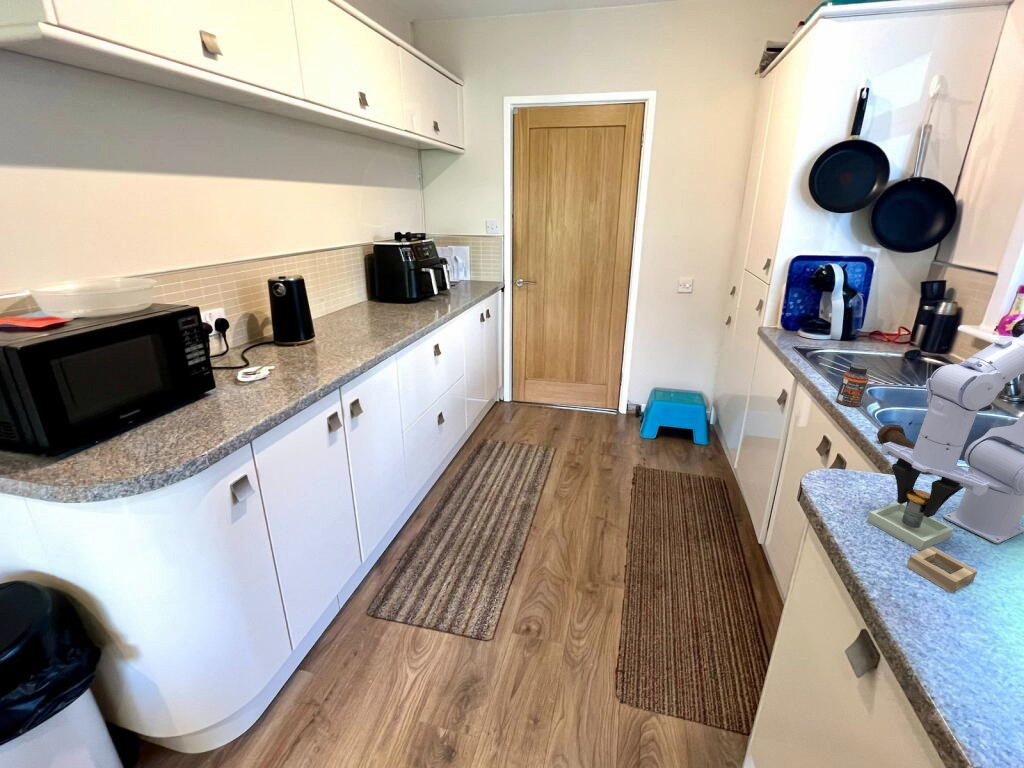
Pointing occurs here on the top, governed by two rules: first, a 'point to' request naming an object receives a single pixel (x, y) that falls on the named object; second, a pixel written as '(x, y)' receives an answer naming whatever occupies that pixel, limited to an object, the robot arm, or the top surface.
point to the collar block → (949, 582)
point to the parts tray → (916, 537)
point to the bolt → (894, 436)
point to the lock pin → (915, 507)
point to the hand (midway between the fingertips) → (915, 508)
